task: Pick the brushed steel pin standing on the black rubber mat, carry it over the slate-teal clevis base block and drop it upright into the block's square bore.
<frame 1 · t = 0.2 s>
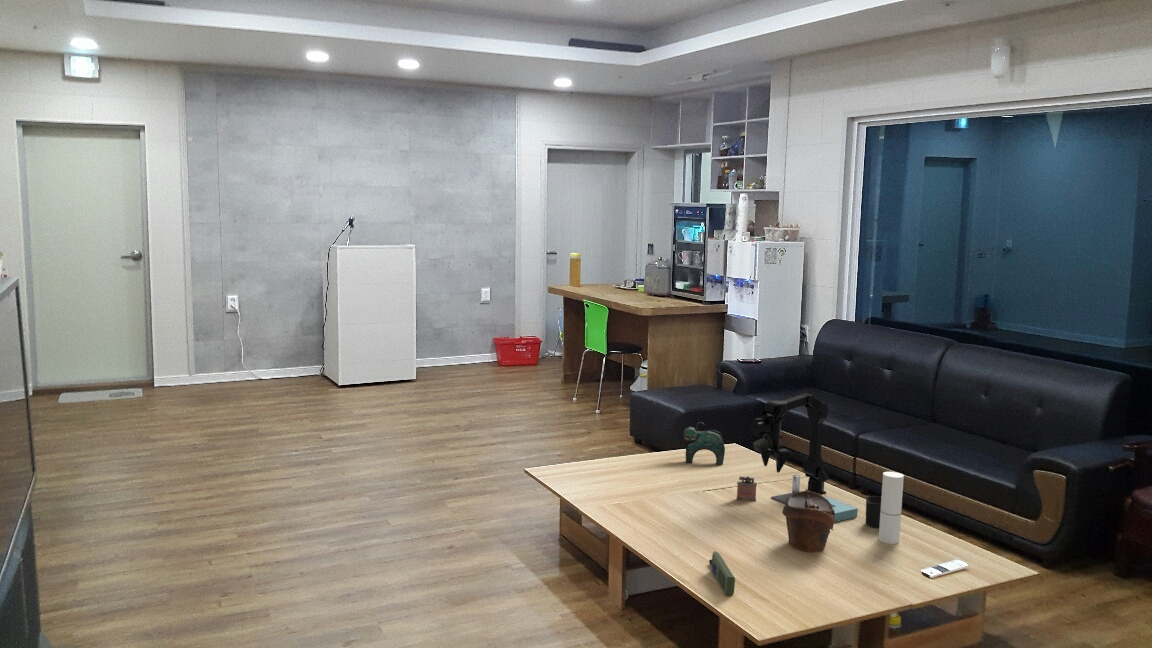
hand: (771, 469, 360), 14 cm above the table, tool pointing down, fingers open, 9 cm apart
lighter: (746, 500, 363), on the table
rubber mat: (795, 500, 364), on the table
cylindrical container: (888, 540, 322), on the table
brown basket: (807, 546, 315), on the table
pen holder: (877, 525, 337), on the table
ceramic cat: (703, 463, 416), on the table
clevis block: (827, 513, 349), on the table
steel pin: (795, 499, 364), point 1 cm above the table, touching rubber mat
handheld radio: (719, 580, 284), on the table
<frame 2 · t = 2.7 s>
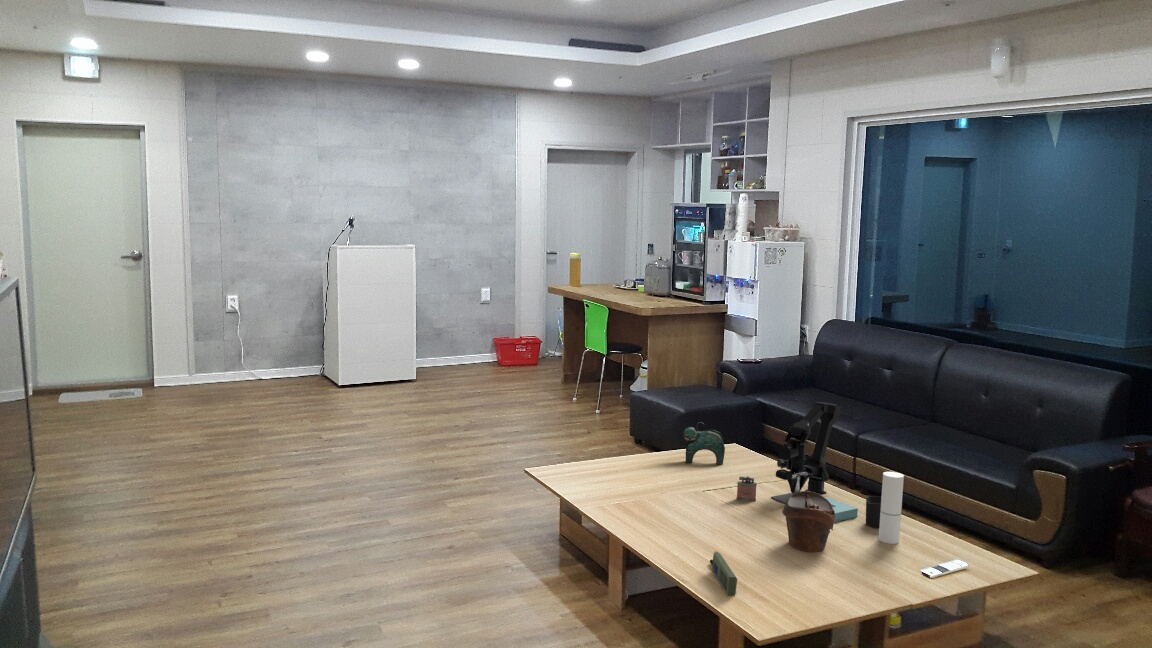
hand: (795, 492, 363), 4 cm above the table, tool pointing down, fingers closed on steel pin, 3 cm apart
steel pin: (795, 499, 364), point 1 cm above the table, touching gripper, rubber mat
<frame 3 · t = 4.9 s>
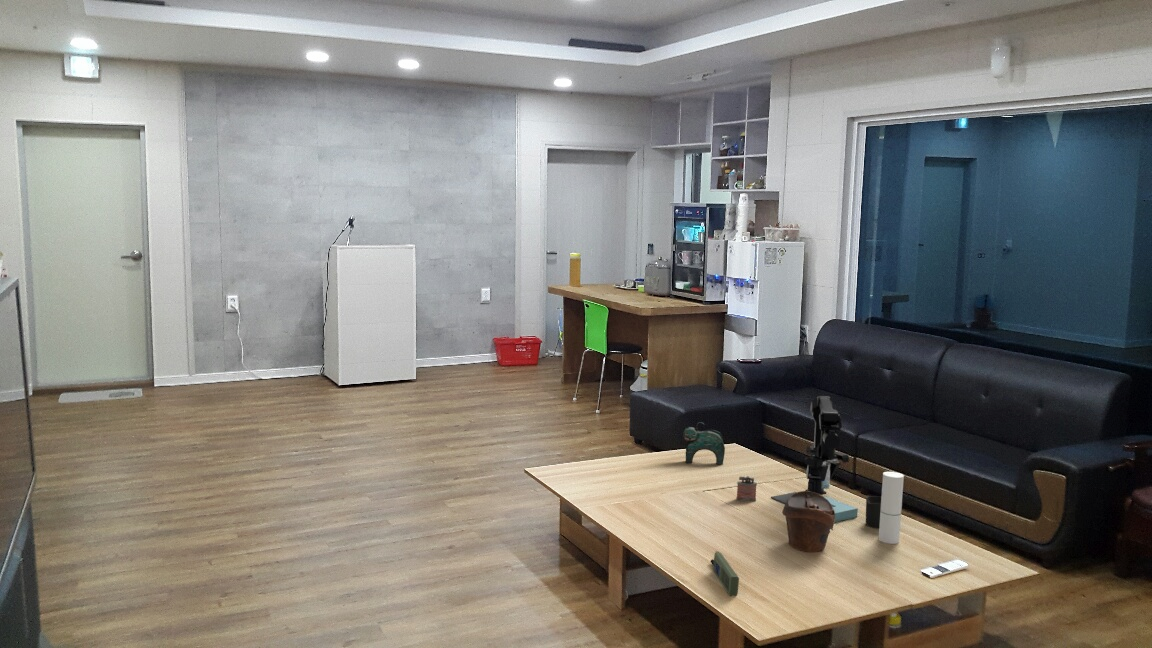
hand: (825, 480, 348), 13 cm above the table, tool pointing down, fingers closed on steel pin, 3 cm apart
steel pin: (825, 487, 348), point 10 cm above the table, touching gripper
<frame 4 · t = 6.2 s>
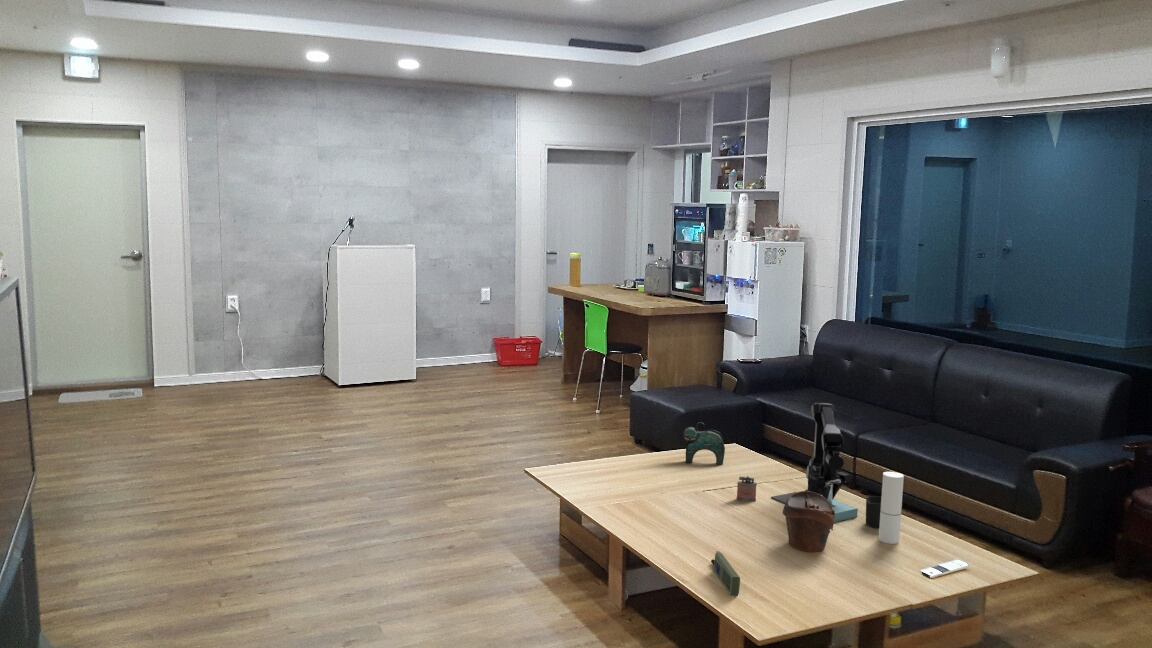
hand: (828, 500, 348), 6 cm above the table, tool pointing down, fingers closed on steel pin, 3 cm apart
steel pin: (827, 507, 348), point 3 cm above the table, touching gripper
when the fingers open (5 cm above the table, at t = 7.2 s): steel pin drops 2 cm, resting in clevis block.
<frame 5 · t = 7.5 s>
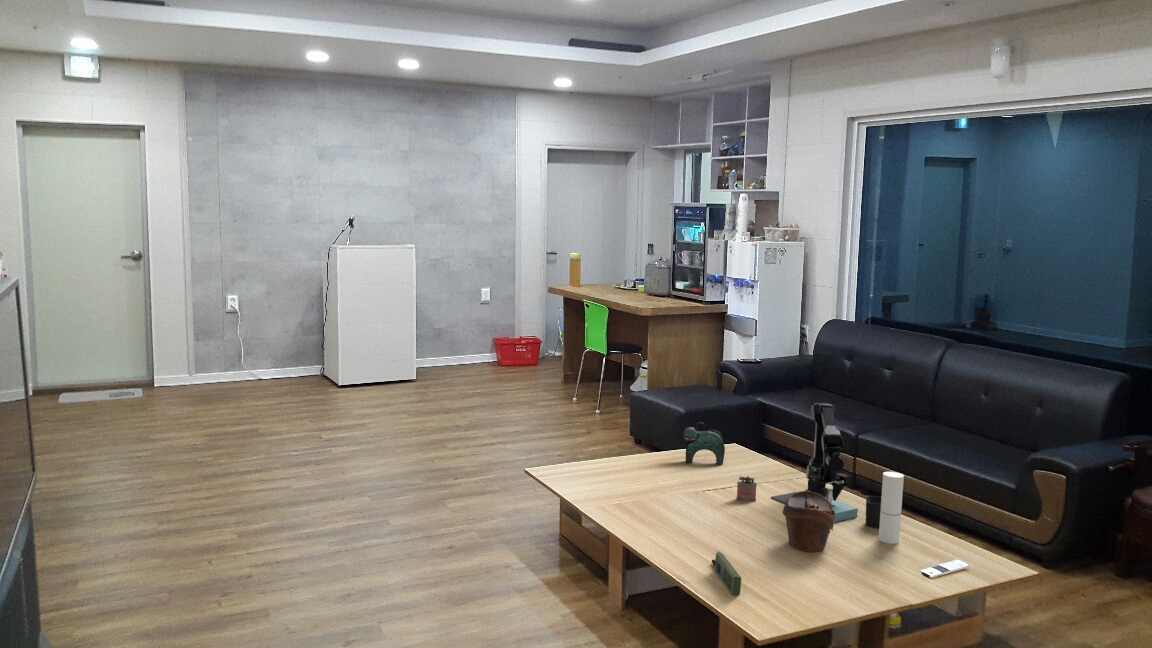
hand: (828, 501, 348), 5 cm above the table, tool pointing down, fingers open, 6 cm apart
steel pin: (827, 513, 349), resting in clevis block
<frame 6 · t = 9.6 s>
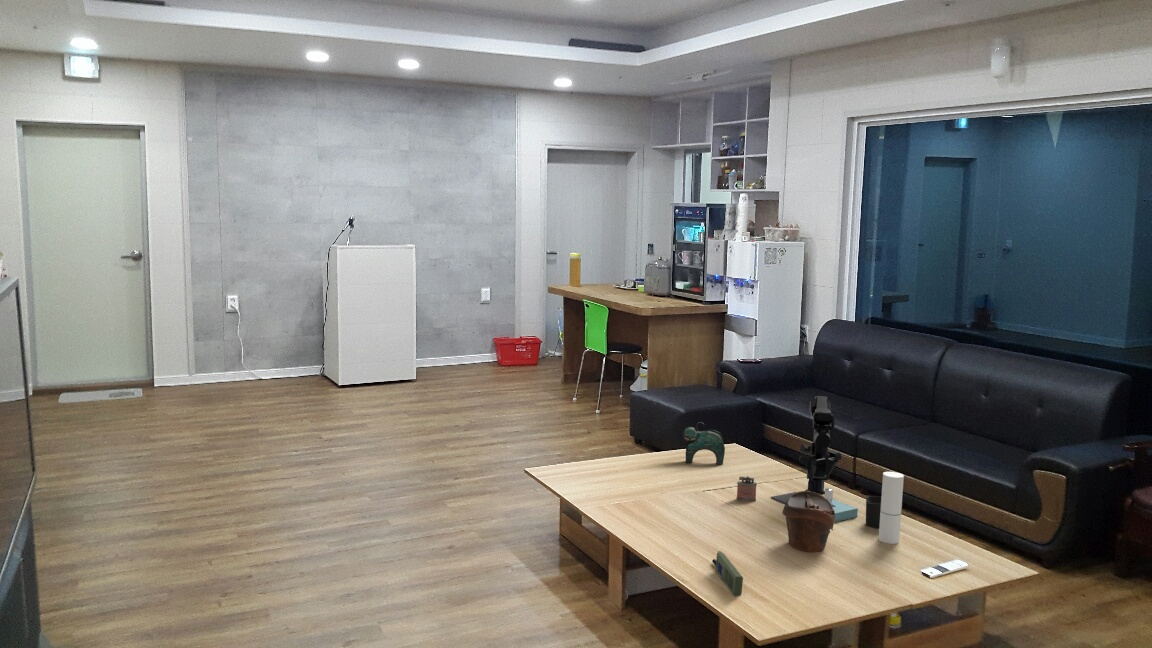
hand: (819, 477, 357), 12 cm above the table, tool pointing down, fingers open, 9 cm apart
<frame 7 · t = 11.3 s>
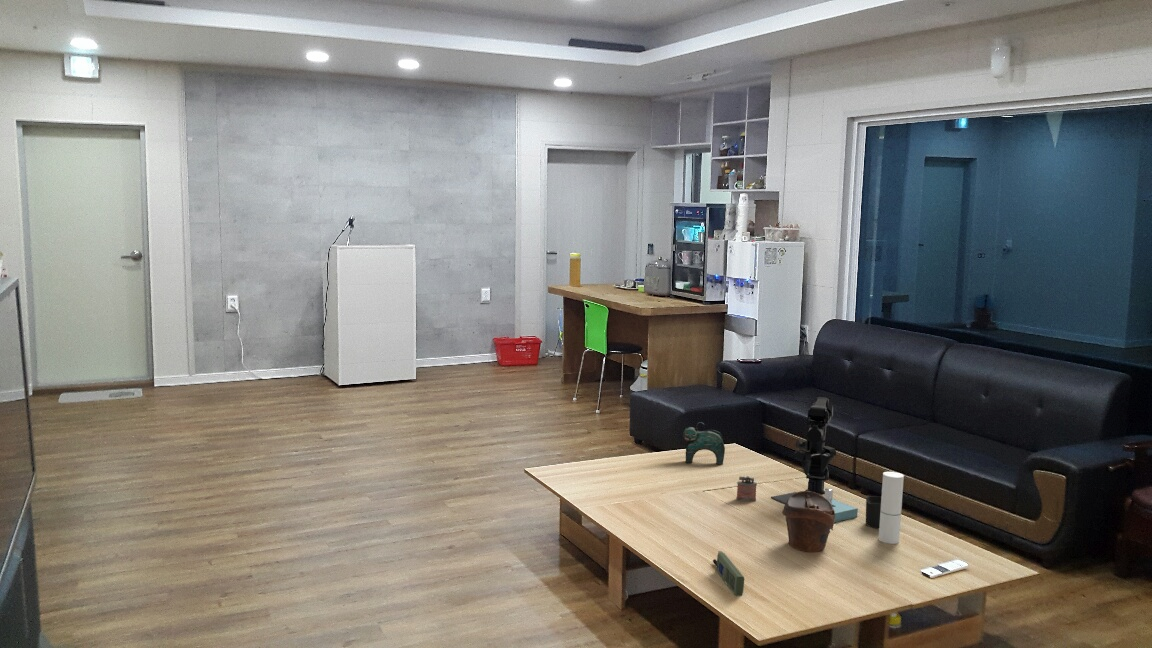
hand: (814, 473, 362), 12 cm above the table, tool pointing down, fingers open, 9 cm apart
at the end: steel pin 0.1 cm off-centre on the clevis block, point 0.0 cm above the clevis block's base; steel pin tilted 0°; the gripper is holding nothing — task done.
